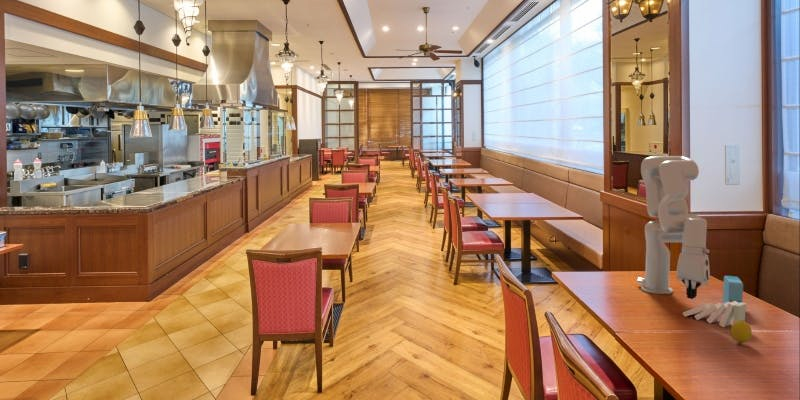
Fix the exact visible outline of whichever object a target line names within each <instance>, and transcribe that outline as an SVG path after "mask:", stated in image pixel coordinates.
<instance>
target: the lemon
mask: <svg viewBox="0 0 800 400" xmlns="http://www.w3.org/2000/svg"><path fill="white" fill-rule="evenodd" d="M730 335H731V337H732V339H733V340H735V341H736V342H737V343H738V344H740V345H742V344H745V343H748V342H749V341H750V339H751V338H752V328H751V326H750V325H749V323H747V322H746V321H745V322H744V321H743V320H740V321H737V322H735V323H734V324H731V328H730Z"/></svg>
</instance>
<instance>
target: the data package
mask: <svg viewBox="0 0 800 400" xmlns="http://www.w3.org/2000/svg"><path fill="white" fill-rule="evenodd" d="M722 285H723V287H722V304H724V303H726V302H730V303H731V302H733V301H736V302H738V303H740V302H742V303H743V296H744V283H743V281H741V279H740V278H739V277H738V276H733V275H724V276H723V284H722Z"/></svg>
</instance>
